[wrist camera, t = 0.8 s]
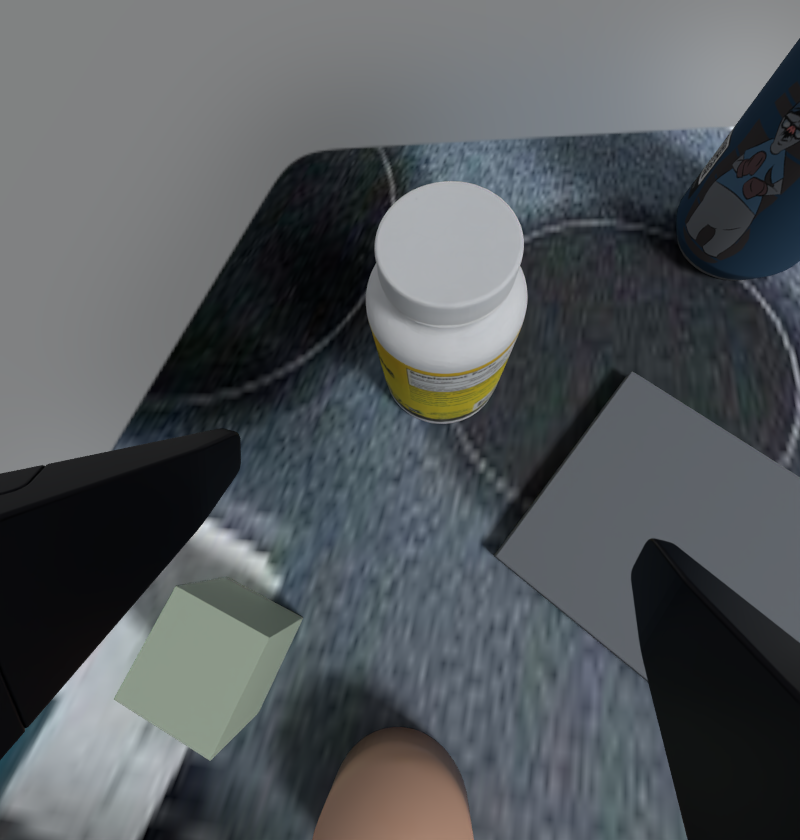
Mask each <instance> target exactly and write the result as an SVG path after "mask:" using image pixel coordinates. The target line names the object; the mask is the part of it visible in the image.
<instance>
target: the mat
mask: <svg viewBox="0 0 800 840" xmlns="http://www.w3.org/2000/svg"><path fill="white" fill-rule="evenodd" d="M651 538H656V539H660V540H664V541H668V542H671V543H674V544H675V545H676V546H678V547H679V548H680V549H681V550H683V551H684V552H685V553H687V554H688V555H689V556H690V557H692V558H693V559H694V560H695V561H697V562H698V563H699V564H701V565H702V566H703V567H704V568H706V569H707V570H708V571H709V572H711V573H712V574H713V575H714V576H716V577H717V578H718V579H720V580H721V581H722V582H723V583H725V584H726V585H727V586H728V587H730V588H731V589H732V590H734V591H735V592H736V593H737V594H739V595H740V596H741V597H742V598H744V599H745V600H746V601H747V602H749V603H750V604H751V605H753V606H754V607H755V608H756V609H758V610H759V611H760V612H761V613H763V614H764V615H765V616H766V617H768V618H769V619H770V620H772V621H773V622H774V623H775V624H777V625H778V626H779V627H780V628H782V629H783V630H784V631H786V632H787V633H788V634H789V635H791V636H792V637H793V638H794V639H796V640H797V641H798V642H799V641H800V477H798V476H797V475H795V474H794V473H792V472H790V471H789V470H787V469H786V468H784V467H783V466H781V465H779V464H778V463H776V462H775V461H773V460H771V459H770V458H768V457H767V456H765V455H764V454H762V453H760V452H759V451H757V450H756V449H754V448H753V447H751V446H749V445H748V444H746V443H745V442H743V441H741V440H740V439H738V438H737V437H735V436H734V435H732V434H730V433H729V432H727V431H726V430H724V429H723V428H721V427H719V426H718V425H716V424H715V423H713V422H712V421H710V420H708V419H707V418H705V417H704V416H702V415H700V414H699V413H697V412H696V411H694V410H693V409H691V408H689V407H688V406H686V405H685V404H683V403H682V402H680V401H678V400H677V399H675V398H674V397H672V396H670V395H669V394H667V393H666V392H664V391H663V390H661V389H659V388H658V387H656V386H655V385H653V384H652V383H650V382H648V381H647V380H645V379H644V378H642V377H640V376H639V375H637V374H636V373H634V372H633V371H632V372H631V373H630V374H629V375H627V376H626V377H625V378H624V380H623V381H622V382H621V384H620V385H619V387H618V388H617V389H616V391H615V392H614V393H613V395H612V396H611V397H610V399H609V400H608V401H607V403H606V404H605V406H604V407H603V408H602V410H601V411H600V412H599V414H598V415H597V416H596V418H595V419H594V420H593V422H592V423H591V425H590V426H589V427H588V429H587V430H586V431H585V433H584V434H583V435H582V437H581V438H580V439H579V441H578V442H577V444H576V445H575V446H574V448H573V449H572V450H571V452H570V453H569V454H568V456H567V457H566V458H565V460H564V461H563V463H562V464H561V465H560V467H559V468H558V469H557V471H556V472H555V473H554V475H553V476H552V477H551V479H550V480H549V482H548V483H547V484H546V486H545V487H544V488H543V490H542V491H541V492H540V494H539V495H538V496H537V498H536V499H535V501H534V502H533V503H532V505H531V506H530V507H529V509H528V510H527V511H526V513H525V514H524V515H523V517H522V518H521V520H520V521H519V522H518V524H517V525H516V526H515V528H514V529H513V530H512V532H511V533H510V534H509V536H508V537H507V539H506V540H505V541H504V543H503V544H502V545H501V547H500V548H499V549H498V551H497V552H496V553H495V555H494V556H495V557H496V558H497V559H498V560H499V561H501V562H502V563H503V564H504V565H506V566H507V567H508V568H509V569H511V570H512V571H513V572H514V573H515V574H517V575H518V576H519V577H520V578H522V579H523V580H524V581H525V582H526V583H528V584H529V585H530V586H531V587H533V588H534V589H535V590H536V591H537V592H539V593H540V594H541V595H542V596H544V597H545V598H546V599H547V600H548V601H550V602H551V603H552V604H553V605H555V606H556V607H557V608H558V609H559V610H561V611H562V612H563V613H564V614H566V615H567V616H568V617H569V618H571V619H572V620H573V621H574V622H575V623H577V624H578V625H579V626H580V627H582V628H583V629H584V630H585V631H586V632H588V633H589V634H590V635H591V636H593V637H594V638H595V639H596V640H597V641H599V642H600V643H601V644H602V645H604V646H605V647H606V648H607V649H608V650H610V651H611V652H612V653H613V654H615V655H616V656H617V657H618V658H619V659H621V660H622V661H623V662H624V663H626V664H627V665H628V666H629V667H631V668H632V669H633V670H634V671H635V672H637V673H638V674H639V675H640V676H642V677H643V678H644V679H645V680H646V681H648V679H647V675H646V671H645V667H644V663H643V659H642V654H641V650H640V644H639V637H638V630H637V622H636V615H635V607H634V600H633V592H632V585H631V571H632V568H633V565H634V564H635V562H636V560H637V558H638V556H639V554H640V552H641V550H642V548H643V547H644V545H645V543H646V542H647V541H648V540H649V539H651Z"/></svg>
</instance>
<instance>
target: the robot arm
mask: <svg viewBox="0 0 800 840" xmlns="http://www.w3.org/2000/svg"><path fill="white" fill-rule="evenodd" d="M240 465H241V446H240V436H239V434H238V433H237V432H235V431H231V430H227V429H215V430H210V431H206V432H201V433H196V434H191V435H186V436H181V437H177V438H172V439H167V440H162V441H157V442H152V443H148V444H143V445H138V446H133V447H128V448H123V449H119V450H114V451H109V452H104V453H99V454H94V455H90V456H85V457H80V458H75V459H70V460H65V461H61V462H56V463H51V464H48V465H46V466H43V465H41V466H36V467H31V468H26V469H21V470H17V471H11V472H6V473H2V474H0V760H1V759H2V757H3V756H4V755H5V754H6V753H7V752H8V750H9V749H10V748H11V747H12V746H13V745H14V743H15V742H16V741H17V740H18V739H19V738H20V736H21V735H22V734H23V733H24V732H25V728H27V727H29V725H30V724H31V723H32V722H33V721H34V720H35V719H36V717H37V716H38V715H39V714H40V713H41V712H42V710H43V709H44V708H45V707H46V706H47V705H48V703H49V702H50V701H51V700H52V699H53V698H54V696H55V695H56V694H57V693H58V692H59V691H60V689H61V688H62V687H63V686H64V685H65V684H66V682H67V681H68V680H69V679H70V678H71V677H72V675H73V674H74V673H75V672H76V671H77V670H78V668H79V667H80V666H81V665H82V664H83V663H84V662H85V660H86V659H87V658H88V657H89V656H90V655H91V653H92V652H93V651H94V650H95V649H96V648H97V646H98V645H99V644H100V643H101V642H102V641H103V639H104V638H105V637H106V636H107V635H108V634H109V632H110V631H111V630H112V629H113V628H114V627H115V625H116V624H117V623H118V622H119V621H120V620H121V618H122V617H123V616H124V615H125V614H126V613H127V611H128V610H129V609H130V608H131V607H132V606H133V605H134V603H135V602H136V601H137V600H138V599H139V598H140V596H141V595H142V594H143V593H144V592H145V591H146V589H147V588H148V587H149V586H150V585H151V584H152V582H153V581H154V580H155V579H156V578H157V577H158V575H159V574H160V573H161V572H162V571H163V570H164V568H165V567H166V566H167V565H168V564H169V563H170V561H171V560H172V559H173V558H174V557H175V556H176V554H177V553H178V552H179V551H180V550H181V549H182V547H183V546H184V545H185V544H186V543H187V542H188V541H189V539H190V538H191V537H192V536H193V535H194V534H195V532H196V531H197V530H198V529H199V527H200V526H201V525H202V524H203V522H204V521H205V520H206V518H207V517H208V516H209V514H210V513H211V511H212V510H213V508H214V507H215V506H216V504H217V503H218V501H219V500H220V498H221V497H222V495H223V494H224V492H225V491H226V490H227V488H228V487H229V485H230V484H231V482H232V481H233V479H234V478H235V477H236V475H237V473H238V472H239V469H240ZM631 585H632V592H633V600H634V607H635V615H636V622H637V630H638V637H639V644H640V650H641V654H642V659H643V663H644V667H645V671H646V675H647V679H648V683H649V687H650V691H651V695H652V699H653V703H654V707H655V711H656V715H657V719H658V723H659V727H660V731H661V735H662V739H663V743H664V747H665V751H666V755H667V759H668V763H669V767H670V771H671V775H672V779H673V783H674V787H675V791H676V795H677V799H678V803H679V807H680V811H681V815H682V819H683V823H684V827H685V831H686V835H687V839H688V840H800V643H799V642H798V641H797V640H796V639H794V638H793V637H792V636H791V635H789V634H788V633H787V632H786V631H784V630H783V629H782V628H780V627H779V626H778V625H777V624H775V623H774V622H773V621H772V620H770V619H769V618H768V617H766V616H765V615H764V614H763V613H761V612H760V611H759V610H758V609H756V608H755V607H754V606H753V605H751V604H750V603H749V602H747V601H746V600H745V599H744V598H742V597H741V596H740V595H739V594H737V593H736V592H735V591H734V590H732V589H731V588H730V587H728V586H727V585H726V584H725V583H723V582H722V581H721V580H720V579H718V578H717V577H716V576H714V575H713V574H712V573H711V572H709V571H708V570H707V569H706V568H704V567H703V566H702V565H701V564H699V563H698V562H697V561H695V560H694V559H693V558H692V557H690V556H689V555H688V554H687V553H685V552H684V551H683V550H681V549H680V548H679V547H678V546H676V545H675V544H674V543H671V542H668V541H664V540H660V539H656V538H651V539H649V540H648V541H647V542H646V543H645V545H644V547H643V548H642V550H641V552H640V554H639V556H638V558H637V560H636V562H635V564H634V565H633V568H632V571H631Z"/></svg>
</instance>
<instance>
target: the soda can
mask: <svg viewBox="0 0 800 840" xmlns="http://www.w3.org/2000/svg"><path fill="white" fill-rule="evenodd" d="M676 229H677V241H678V245H679V248H680V250H681V252H682V254H683V255H684V257H685V258H686V259H687V260H688V261H689V262H690V263H691V264H692V265H693V266H694V267H695V268H697V269H698V270H700V271H701V272H703V273H705V274H707V275H710V276H712V277H715V278H719V279H724V280H746V279H754V278H761V277H766V276H771V275H774V274H777V273H780V272H783V271H785V270H787V269H789V268H790V267H792V266H793V265H795V264H796V263H798V262H799V261H800V39H799V40H798V41H797V43H796V44H795V45H794V47H793V48H792V49H791V51H790V52H789V53H788V55H787V56H786V58H785V59H784V60H783V62H782V63H781V64H780V66H779V67H778V69H777V70H776V71H775V73H774V74H773V75H772V77H771V78H770V79H769V81H768V82H767V83H766V85H765V86H764V87H763V89H762V90H761V92H760V93H759V94H758V96H757V97H756V99H755V100H754V101H753V103H752V104H751V105H750V107H749V108H748V109H747V111H746V112H745V113H744V115H743V116H742V117H741V119H740V120H739V121H738V123H737V124H736V126H735V127H734V128H733V130H732V131H731V132H730V134H729V135H728V136H727V138H726V139H725V141H724V142H723V143H722V145H721V146H720V147H719V149H718V150H717V151H716V153H715V154H714V155H713V157H712V158H711V160H710V161H709V162H708V164H707V165H706V166H705V168H704V169H703V170H702V172H701V173H700V175H699V176H698V177H697V179H696V180H695V181H694V183H693V184H692V185H691V187H690V188H689V189H688V191H687V192H686V194H685V195H684V196H683V198H682V200H681V202H680V204H679V207H678V211H677V218H676Z"/></svg>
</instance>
